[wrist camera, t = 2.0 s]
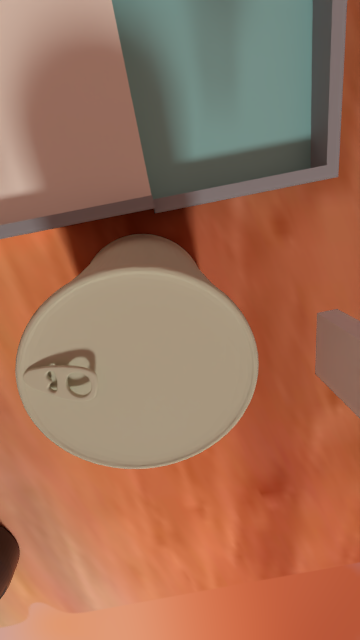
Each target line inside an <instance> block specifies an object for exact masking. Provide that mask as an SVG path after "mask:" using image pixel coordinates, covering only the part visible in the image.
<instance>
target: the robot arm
mask: <svg viewBox="0 0 360 640" xmlns="http://www.w3.org/2000/svg"><path fill="white" fill-rule="evenodd" d="M315 374H316V375H317V376H318V377H319V378H320V379H321V380H322V381H323V382H324V383H325V384H326V385H327V386H328V387H329V388H330V389H331V390H332V391H333V392H334V393H335V394H336V395H337V396H338V397H339V398H340V399H341V400H342V401H343V402H344V403H345V404H346V405H347V406H348V407H349V408H350V409H351V410H352V411H353V412H354V413H355V414H356V415H357V416H358V417H359V418H360V321H358V320H357V319H355V318H353V317H351V316H349V315H347V314H345V313H344V312H342V311H340V310H338V309H334V310H330V311H325V312H320V313H317V335H316V368H315ZM19 554H20V553H19V547H18V545H17V542H16V541H15V539H14V538H13V537H12V535H11V534H10V533H9V532H8V531H6V530H5V529H4V528H3V527H1V526H0V599H1V597H2V596H3V595H4V593H5V592H6V590H7V589H8V587H9V585H10V582H11V580H12V577H13V574H14V572H15V569H16V566H17V563H18V561H19Z"/></svg>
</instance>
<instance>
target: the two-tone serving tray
mask: <svg viewBox="0 0 360 640" xmlns="http://www.w3.org/2000/svg"><path fill="white" fill-rule="evenodd" d="M346 12H347V0H0V239H3V238H8V237H13V236H18V235H23V234H28V233H33V232H38V231H43V230H48V229H53V228H58V227H63V226H68V225H73V224H78V223H83V222H88V221H93V220H98V219H103V218H108V217H113V216H118V215H123V214H128V213H133V212H138V211H143V210H148V209H153V208H154V213H160V212H165V211H170V210H175V209H180V208H185V207H190V206H195V205H200V204H205V203H210V202H215V201H220V200H225V199H230V198H235V197H240V196H245V195H250V194H255V193H260V192H265V191H270V190H275V189H280V188H285V187H290V186H295V185H300V184H305V183H310V182H315V181H320V180H325V179H330V178H335V177H338V170H339V151H340V131H341V111H342V91H343V71H344V51H345V31H346Z"/></svg>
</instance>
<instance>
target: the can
mask: <svg viewBox="0 0 360 640" xmlns="http://www.w3.org/2000/svg"><path fill="white" fill-rule="evenodd" d="M257 376H258V352H257V347H256V342H255V339H254V336H253V333H252V330H251V328H250V326H249V324H248V322H247V320H246V318H245V317H244V315H243V314H242V312H241V311H240V310H239V308H238V307H237V306H236V305H235V303H234V302H233V301H232V300H231V299H230V298H229V297H228V296H227V295H226V294H224V293H223V292H222V291H221V290H219V289H218V288H217V287H215V286H214V285H213V284H212V283H211V282H210V281H209V280H208V279H207V278H206V277H205V275H204V274H203V273H202V272H201V271H200V270H199V268H198V266H197V265H196V263H195V261H194V260H193V259H192V257H191V256H190V255H189V254H188V253H187V252H186V251H185V250H184V249H183V248H182V247H180V246H179V245H178V244H176V243H174V242H173V241H171V240H169V239H166V238H164V237H161V236H157V235H151V234H134V235H128V236H125V237H122V238H119V239H117V240H115V241H113V242H111V243H109V244H108V245H106V246H105V247H104V248H103V249H101V250H100V251H99V252H98V253H97V255H96V256H95V257H94V258H93V260H92V261H91V263H90V265H89V266H88V267H87V268H86V269H84V270H83V271H82V272H81V273H80V274H79V275H78V276H77V277H76V278H75V279H73V280H72V281H71V282H69V283H68V284H66V285H64V286H63V287H61V288H60V289H59V290H57V291H56V292H55V293H54V294H52V295H51V296H50V297H49V298H48V299H47V300H46V301H45V302H44V303H43V304H42V305H41V306H40V307H39V308H38V310H37V311H36V312H35V314H34V315H33V316H32V318H31V319H30V321H29V323H28V324H27V326H26V328H25V330H24V332H23V335H22V337H21V340H20V344H19V347H18V351H17V357H16V381H17V387H18V391H19V395H20V397H21V400H22V403H23V405H24V407H25V409H26V411H27V413H28V415H29V416H30V418H31V419H32V421H33V422H34V423H35V425H36V426H37V427H38V428H39V430H40V431H41V432H42V433H43V434H44V435H45V436H46V437H47V438H49V439H50V440H51V441H52V442H54V443H55V444H56V445H58V446H59V447H61V448H62V449H64V450H65V451H67V452H69V453H71V454H73V455H75V456H77V457H79V458H81V459H84V460H87V461H89V462H92V463H95V464H99V465H104V466H109V467H114V468H124V469H145V468H154V467H160V466H165V465H170V464H173V463H177V462H180V461H182V460H185V459H188V458H190V457H192V456H194V455H197V454H199V453H201V452H202V451H204V450H206V449H207V448H209V447H210V446H212V445H214V444H215V443H216V442H218V441H219V440H220V439H221V438H222V437H224V436H225V435H226V434H227V433H228V432H229V431H230V430H231V429H232V428H233V427H234V426H235V425H236V423H237V422H238V421H239V419H240V418H241V417H242V415H243V414H244V412H245V410H246V408H247V407H248V405H249V403H250V401H251V398H252V396H253V393H254V390H255V386H256V382H257Z"/></svg>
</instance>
